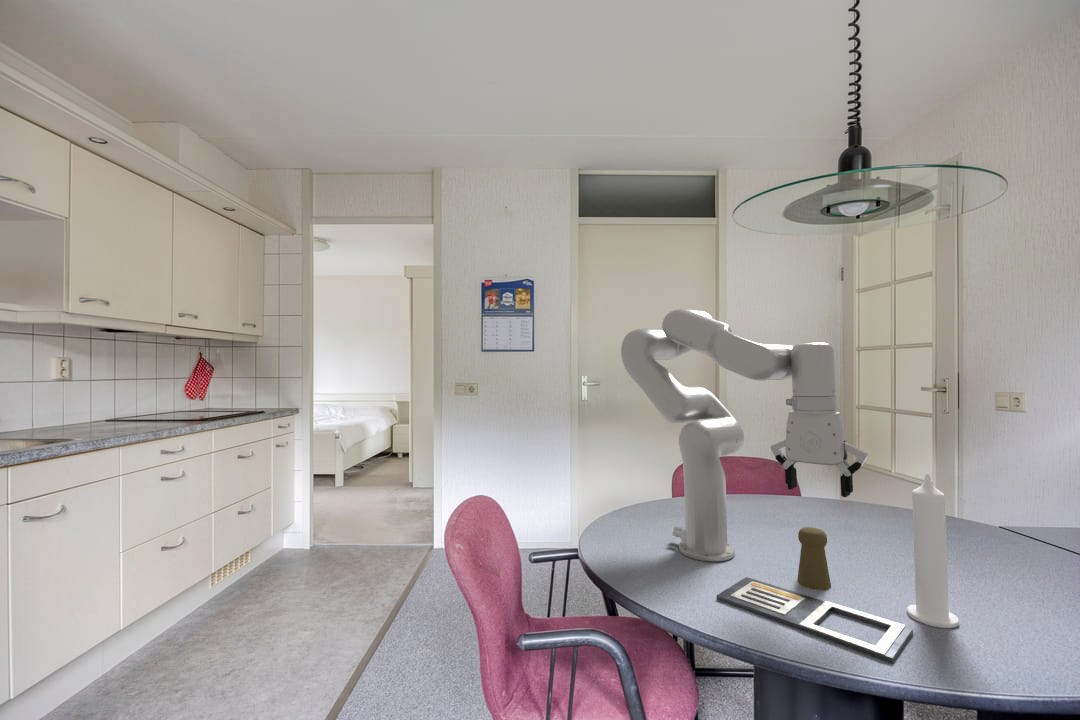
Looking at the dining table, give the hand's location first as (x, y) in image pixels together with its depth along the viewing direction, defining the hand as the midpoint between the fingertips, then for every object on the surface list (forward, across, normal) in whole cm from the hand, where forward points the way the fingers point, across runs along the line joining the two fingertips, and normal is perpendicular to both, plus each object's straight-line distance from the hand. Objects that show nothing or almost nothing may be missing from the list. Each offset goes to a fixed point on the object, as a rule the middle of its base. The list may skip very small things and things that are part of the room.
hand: (818, 491), depth 97 cm
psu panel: (+19, +1, -12) cm, 23 cm away
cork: (+19, -2, +2) cm, 20 cm away
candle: (+20, +17, +2) cm, 26 cm away
